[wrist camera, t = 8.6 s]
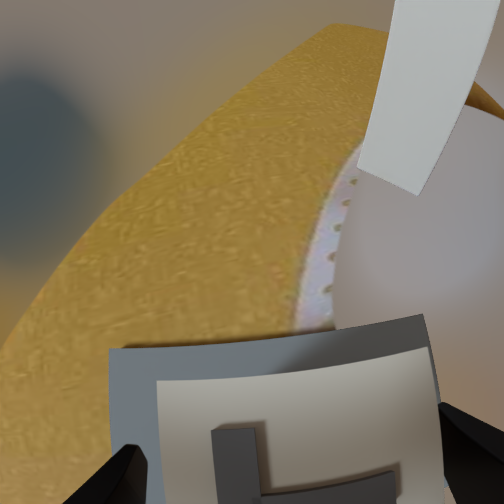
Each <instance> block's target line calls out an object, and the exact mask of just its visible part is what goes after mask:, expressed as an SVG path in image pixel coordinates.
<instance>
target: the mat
mask: <svg viewBox="0 0 504 504" xmlns="http://www.w3.org/2000/svg"><path fill="white" fill-rule="evenodd" d="M423 347H428V352H429V357H430V362H431V368H432V373H433V379H434V385H435V391H436V398H437V404H438V403H441V399H440V392H439V387H438V381H437V375H436V370H435V365H434V360H433V355H432V350H431V346H430V341H429V337H428V332H427V328H426V324H425V320H424V316H423V314H419V315H415V316H410V317H405V318H401V319H395V320H390V321H385V322H380V323H375V324H369V325H364V326H358V327H352V328H346V329H340V330H334V331H327V332H320V333H314V334H306V335H299V336H291V337H283V338H275V339H266V340H257V341H247V342H236V343H225V344H212V345H198V346H181V347H160V348H123V349H109V413H110V432H111V446H112V456H113V455H114V454H115V453H116V452H117V451H119V450H120V449H121V448H122V447H123V446H124V445H125V444H137V445H139V446H140V448H141V449H142V451H143V453H144V455H145V457H146V459H147V461H148V475H147V492H146V504H166V499H165V491H164V482H163V473H162V463H161V452H160V439H159V424H158V405H157V381H175V380H207V379H225V378H239V377H252V376H262V375H272V374H281V373H290V372H298V371H305V370H312V369H319V368H326V367H332V366H338V365H344V364H350V363H355V362H361V361H366V360H371V359H376V358H381V357H385V356H390V355H394V354H399V353H403V352H407V351H411V350H416V349H420V348H423ZM447 486H449V485H448V483H447V481H446V479H445V477H444V488H445V487H447Z"/></svg>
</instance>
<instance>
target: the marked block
mask: <svg viewBox="0 0 504 504" xmlns="http://www.w3.org/2000/svg"><path fill="white" fill-rule="evenodd" d="M157 405H158V424H159V439H160V452H161V463H162V473H163V482H164V491H165V499H166V504H444V468H443V452H442V440H441V429H440V420H439V412H438V405H437V398H436V391H435V385H434V379H433V373H432V368H431V362H430V357H429V352H428V347H423V348H420V349H416V350H411V351H407V352H403V353H399V354H394V355H390V356H385V357H381V358H376V359H371V360H366V361H361V362H355V363H350V364H344V365H338V366H332V367H326V368H319V369H312V370H305V371H298V372H290V373H281V374H272V375H262V376H252V377H239V378H225V379H207V380H175V381H157Z"/></svg>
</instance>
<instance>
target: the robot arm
mask: <svg viewBox="0 0 504 504" xmlns="http://www.w3.org/2000/svg"><path fill="white" fill-rule="evenodd" d="M437 405H438V412H439V420H440V429H441V440H442V452H443V468H444V477H445V479H446V481H447V483H448V485H449V488H450V490H451V492H452V494H453V497H454V499H455V501H456V504H504V432H503V431H501V430H499V429H497V428H495V427H493V426H491V425H489V424H487V423H485V422H483V421H481V420H479V419H477V418H475V417H473V416H471V415H469V414H467V413H465V412H463V411H461V410H459V409H457V408H455V407H453V406H451V405H449V404H448V403H445V402H441V403H438V404H437ZM147 475H148V461H147V459H146V457H145V455H144V453H143V451H142V449H141V448H140V446H139V445H137V444H125V445H124V446H123V447H122V448H121V449H120V450H119V451H117V452H116V453H115V454H114V455H113V456H112V457H111V458H110V459H109V460H108V461H107V462H106V463H105V464H104V465H103V466H102V467H101V468H100V469H99V470H98V471H97V472H96V473H95V474H94V475H93V476H91V477H90V478H89V479H88V480H87V481H86V482H85V483H84V484H83V485H82V486H81V487H80V488H79V489H78V490H77V491H75V492H74V493H73V494H72V495H71V496H70V497H69V498H68V499H67V500H66V501H65V502H63V503H62V504H146V492H147Z"/></svg>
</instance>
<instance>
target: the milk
mask: <svg viewBox="0 0 504 504" xmlns="http://www.w3.org/2000/svg"><path fill="white" fill-rule="evenodd" d="M500 1H501V0H395V5H394V11H393V16H392V22H391V27H390V32H389V37H388V42H387V47H386V52H385V57H384V61H383V66H382V70H381V75H380V79H379V84H378V88H377V92H376V96H375V100H374V104H373V108H372V112H371V116H370V120H369V124H368V128H367V131H366V135H365V139H364V142H363V146H362V150H361V153H360V157H359V160H358V164H357V168H358V169H361V170H363V171H365V172H367V173H370V174H372V175H374V176H376V177H378V178H381V179H383V180H385V181H387V182H389V183H391V184H393V185H395V186H397V187H400V188H402V189H404V190H406V191H408V192H410V193H412V194H414V195H416V196H419V195H420V193H421V191H422V189H423V187H424V186H425V184H426V182H427V180H428V178H429V176H430V175H431V172H432V171H433V169H434V167H435V165H436V163H437V161H438V159H439V157H440V155H441V153H442V151H443V149H444V147H445V145H446V143H447V141H448V139H449V137H450V135H451V133H452V130H453V128H454V126H455V124H456V122H457V120H458V118H459V115H460V113H461V111H462V108H463V106H464V104H465V102H466V99H467V97H468V94H469V92H470V90H471V87H472V85H473V82H474V80H475V77H476V75H477V72H478V69H479V67H480V64H481V61H482V58H483V56H484V53H485V50H486V47H487V44H488V41H489V38H490V35H491V32H492V29H493V25H494V22H495V19H496V16H497V12H498V8H499V5H500Z"/></svg>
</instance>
